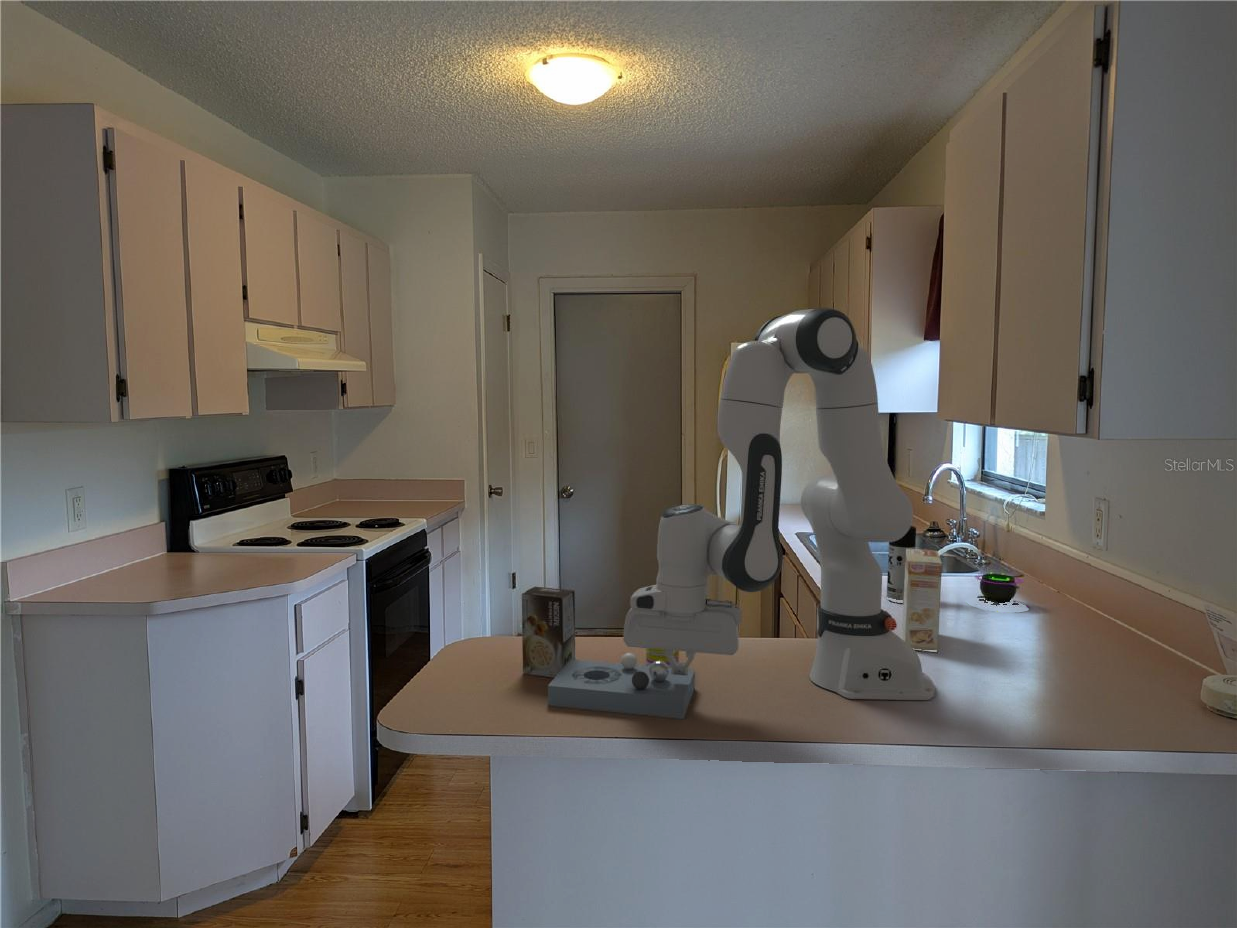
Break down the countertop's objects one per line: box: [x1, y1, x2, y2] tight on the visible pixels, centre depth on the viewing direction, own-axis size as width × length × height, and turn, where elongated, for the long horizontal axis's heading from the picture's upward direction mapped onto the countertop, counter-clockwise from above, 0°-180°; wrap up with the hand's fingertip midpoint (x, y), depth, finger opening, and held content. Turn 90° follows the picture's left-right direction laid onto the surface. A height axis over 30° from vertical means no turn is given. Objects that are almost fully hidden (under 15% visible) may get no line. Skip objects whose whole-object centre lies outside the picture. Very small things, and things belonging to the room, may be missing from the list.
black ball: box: [632, 671, 649, 689], centre depth 135 cm, size 3×3×3 cm
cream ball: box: [620, 652, 638, 669], centre depth 144 cm, size 3×3×3 cm
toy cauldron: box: [974, 562, 1023, 606], centre depth 203 cm, size 15×15×11 cm
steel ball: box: [649, 661, 669, 681], centre depth 139 cm, size 4×4×4 cm
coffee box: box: [521, 586, 576, 679], centre depth 152 cm, size 9×6×16 cm
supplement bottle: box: [645, 648, 680, 668], centre depth 157 cm, size 7×7×13 cm
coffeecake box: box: [901, 548, 943, 651], centre depth 172 cm, size 15×7×20 cm, turn 161°
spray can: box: [886, 525, 917, 601], centre depth 206 cm, size 7×7×20 cm
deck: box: [547, 658, 696, 720], centre depth 140 cm, size 24×14×4 cm, turn 77°
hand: (680, 674), depth 138 cm, fingers closed
